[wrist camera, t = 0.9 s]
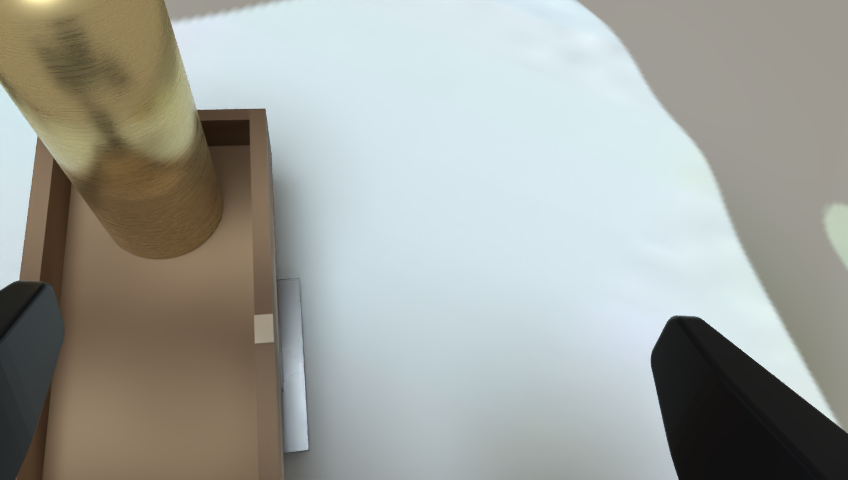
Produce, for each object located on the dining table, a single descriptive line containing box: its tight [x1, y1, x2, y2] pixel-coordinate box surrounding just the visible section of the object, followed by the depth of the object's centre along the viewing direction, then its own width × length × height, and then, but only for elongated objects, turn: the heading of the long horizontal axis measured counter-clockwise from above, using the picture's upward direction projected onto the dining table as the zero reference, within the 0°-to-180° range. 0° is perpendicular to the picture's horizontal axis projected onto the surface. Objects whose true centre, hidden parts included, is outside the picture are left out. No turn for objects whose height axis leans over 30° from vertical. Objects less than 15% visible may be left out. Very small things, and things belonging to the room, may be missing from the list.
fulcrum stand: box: [276, 278, 309, 453], centre depth 21 cm, size 6×8×3 cm
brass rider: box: [0, 0, 223, 259], centre depth 16 cm, size 4×4×10 cm
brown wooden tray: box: [16, 109, 284, 480], centre depth 18 cm, size 15×7×3 cm, turn 6°
